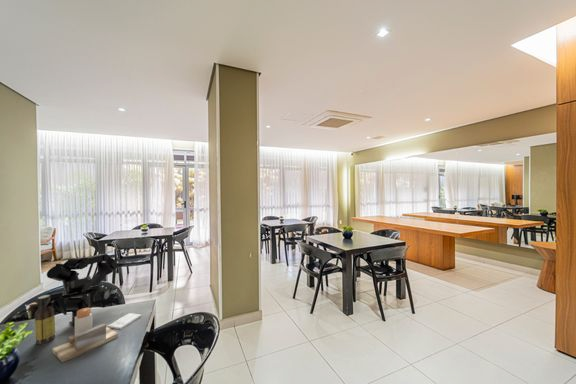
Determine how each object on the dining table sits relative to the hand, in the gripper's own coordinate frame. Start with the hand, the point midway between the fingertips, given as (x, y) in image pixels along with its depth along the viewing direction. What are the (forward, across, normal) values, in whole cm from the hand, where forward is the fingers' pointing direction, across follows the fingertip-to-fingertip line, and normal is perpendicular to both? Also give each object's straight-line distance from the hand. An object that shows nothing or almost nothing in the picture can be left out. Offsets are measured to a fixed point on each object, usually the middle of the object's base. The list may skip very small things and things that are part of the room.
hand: (78, 310), depth 107 cm
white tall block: (+11, +1, +4) cm, 12 cm away
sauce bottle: (+1, -6, +17) cm, 19 cm away
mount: (+15, +1, +3) cm, 15 cm away
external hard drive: (+11, +19, +5) cm, 22 cm away
